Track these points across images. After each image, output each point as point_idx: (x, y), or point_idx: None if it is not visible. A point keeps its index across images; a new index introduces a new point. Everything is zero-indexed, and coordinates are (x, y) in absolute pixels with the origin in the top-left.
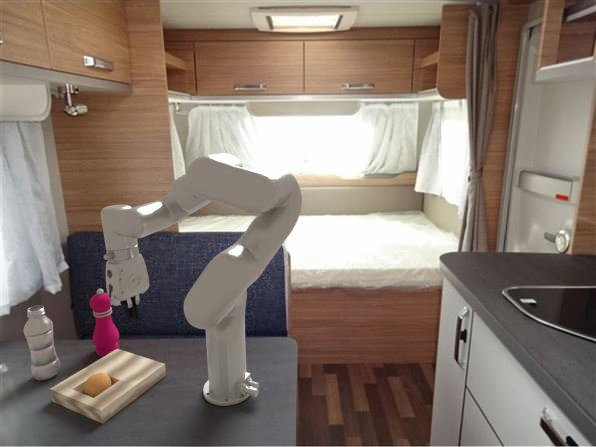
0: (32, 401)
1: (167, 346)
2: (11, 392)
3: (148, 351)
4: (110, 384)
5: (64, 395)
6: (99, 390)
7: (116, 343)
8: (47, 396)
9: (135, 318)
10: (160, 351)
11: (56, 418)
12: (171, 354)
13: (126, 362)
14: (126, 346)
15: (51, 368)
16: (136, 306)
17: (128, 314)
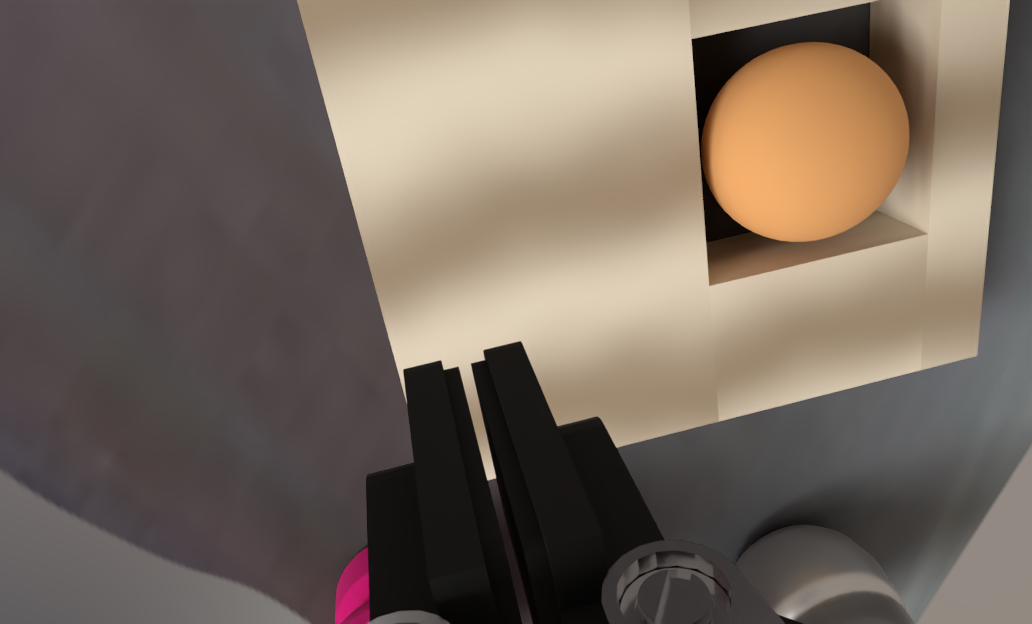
0: (953, 396)
1: (22, 326)
2: (944, 545)
3: (199, 377)
4: (750, 70)
5: (988, 210)
6: (856, 51)
7: (360, 598)
8: (894, 381)
9: (498, 359)
10: (117, 301)
11: (1006, 133)
12: (59, 179)
13: (504, 247)
14: (291, 555)
15: (830, 561)
16: (461, 545)
17: (624, 476)
